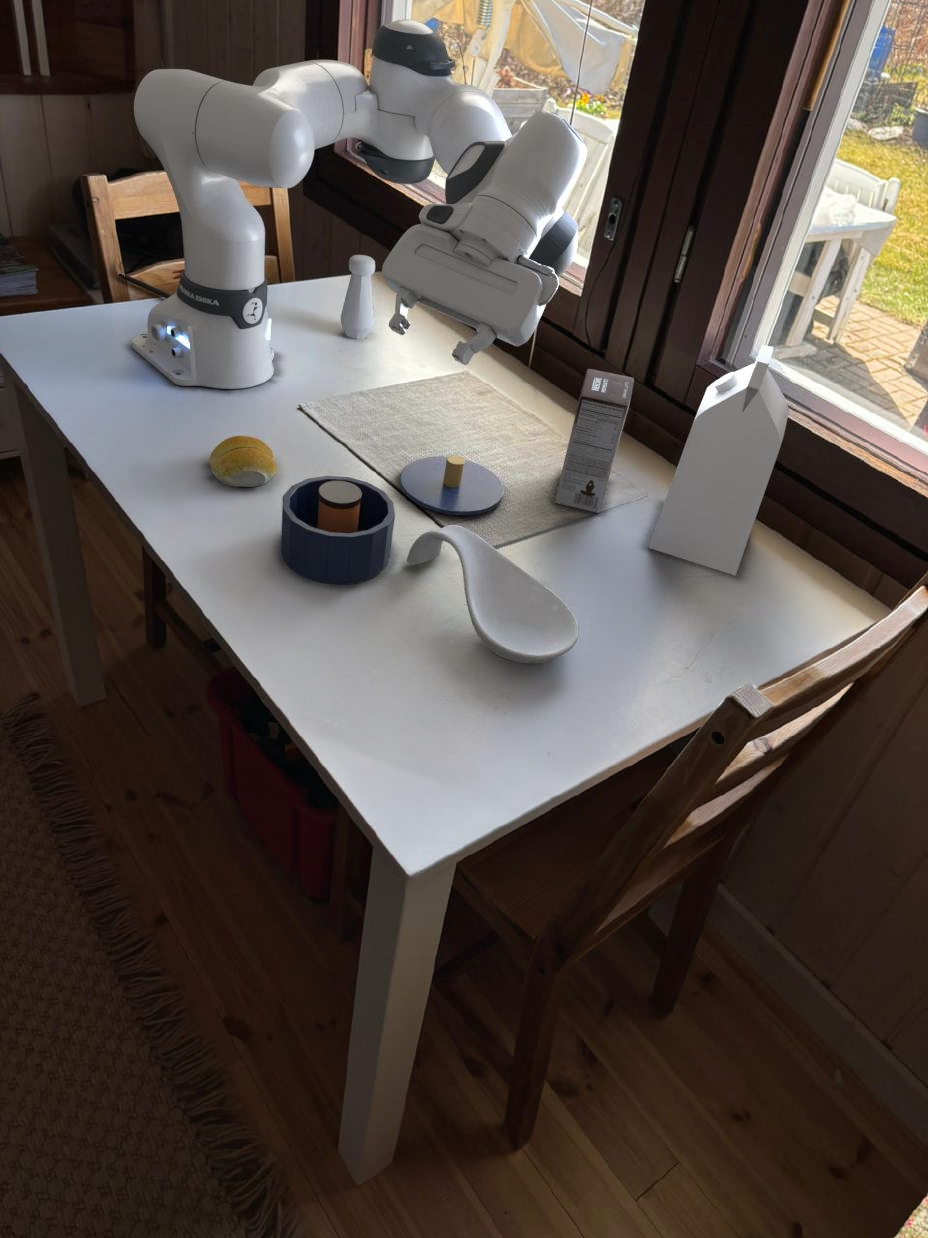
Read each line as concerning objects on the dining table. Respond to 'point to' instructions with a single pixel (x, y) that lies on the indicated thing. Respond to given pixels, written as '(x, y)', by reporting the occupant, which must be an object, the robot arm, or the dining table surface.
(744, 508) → the milk
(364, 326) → the salt shaker
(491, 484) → the tin lid
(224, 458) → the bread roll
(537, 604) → the spoon rest
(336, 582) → the tin
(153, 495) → the dining table surface
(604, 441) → the coffee box
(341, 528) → the cylinder
